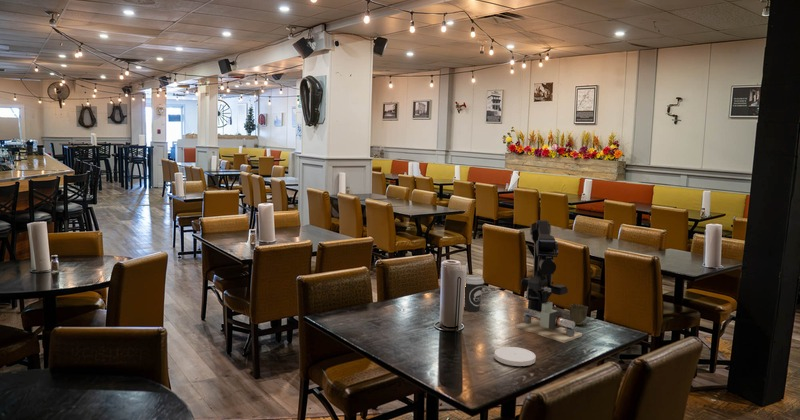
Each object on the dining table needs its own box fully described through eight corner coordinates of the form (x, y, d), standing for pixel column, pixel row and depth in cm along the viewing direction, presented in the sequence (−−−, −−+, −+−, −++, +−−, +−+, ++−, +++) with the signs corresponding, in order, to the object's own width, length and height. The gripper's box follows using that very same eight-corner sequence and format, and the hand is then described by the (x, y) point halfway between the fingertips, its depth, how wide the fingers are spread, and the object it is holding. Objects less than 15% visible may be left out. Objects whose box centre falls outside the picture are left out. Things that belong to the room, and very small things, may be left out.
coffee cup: (482, 307, 262) (483, 275, 260) (483, 313, 253) (484, 280, 251) (461, 306, 263) (462, 274, 261) (461, 312, 254) (462, 279, 252)
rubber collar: (548, 328, 227) (549, 313, 226) (557, 325, 231) (557, 311, 230) (552, 329, 226) (553, 314, 225) (561, 326, 230) (562, 312, 229)
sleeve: (540, 325, 230) (541, 303, 229) (548, 322, 234) (549, 301, 233) (548, 328, 227) (549, 306, 226) (557, 325, 231) (558, 303, 230)
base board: (514, 327, 235) (514, 324, 235) (533, 321, 244) (533, 318, 244) (564, 342, 218) (564, 340, 218) (582, 335, 227) (582, 333, 227)
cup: (583, 328, 236) (584, 309, 235) (565, 324, 240) (566, 306, 239) (589, 324, 242) (590, 306, 241) (572, 320, 246) (573, 302, 245)
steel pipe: (523, 322, 238) (523, 308, 237) (527, 321, 240) (528, 307, 239) (570, 337, 222) (571, 321, 221) (574, 335, 224) (575, 320, 223)
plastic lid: (515, 372, 189) (516, 364, 189) (485, 358, 201) (486, 351, 200) (543, 363, 198) (544, 356, 197) (513, 351, 209) (513, 344, 208)
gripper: (513, 267, 232) (511, 304, 234) (553, 276, 218) (550, 315, 220) (530, 263, 239) (528, 300, 241) (569, 272, 225) (567, 310, 227)
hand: (542, 306), depth 232 cm, fingers closed
